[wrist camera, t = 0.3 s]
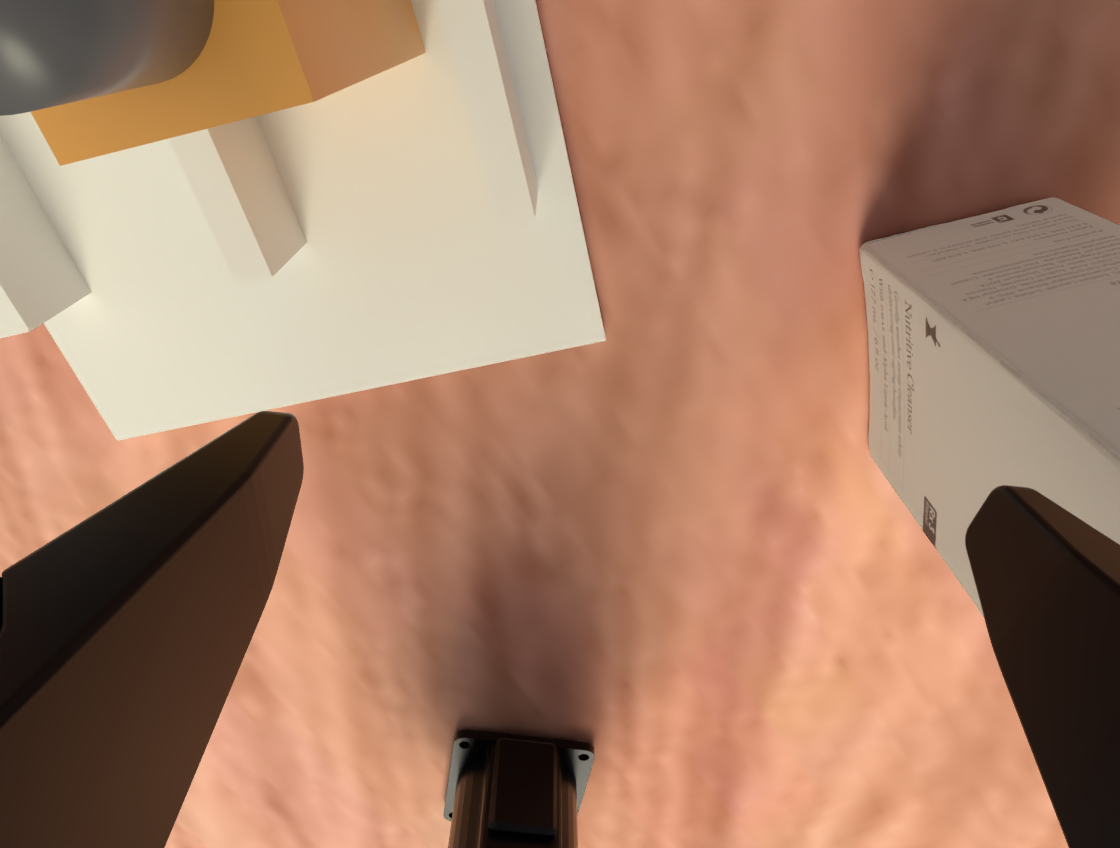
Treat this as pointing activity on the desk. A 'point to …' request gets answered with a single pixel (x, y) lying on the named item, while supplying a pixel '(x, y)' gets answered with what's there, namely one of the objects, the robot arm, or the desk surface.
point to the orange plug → (185, 63)
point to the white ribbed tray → (311, 237)
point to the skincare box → (996, 366)
